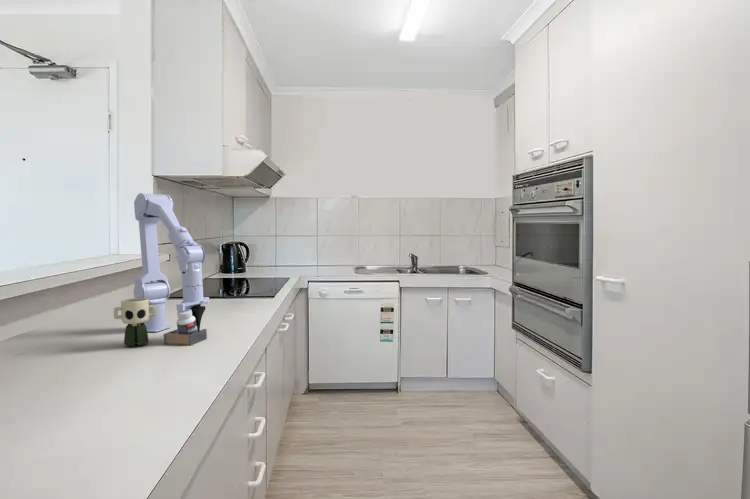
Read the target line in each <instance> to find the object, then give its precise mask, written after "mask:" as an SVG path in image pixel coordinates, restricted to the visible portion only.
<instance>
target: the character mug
mask: <svg viewBox="0 0 750 499" xmlns="http://www.w3.org/2000/svg"><path fill="white" fill-rule="evenodd" d="M149 308H153V313H149ZM118 311H121V312H120V313H121V314H118ZM156 314H157V313H156V305H149V299H146V298H135V297H134V298H126V299H123V300H120V306H116V307H114V308H113V318H114V319H115V320H121V321H122V323H123V324H126V326H125V329H124V339H123V345H124V346H127V347H135V344H137V346H143V345H146V344H148V343H149V334H148V332H147V328H146V325H145V324H144V322H147V321H148V320H149V317H151V316H156Z"/></svg>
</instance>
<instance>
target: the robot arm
mask: <svg viewBox="0 0 750 499" xmlns="http://www.w3.org/2000/svg"><path fill="white" fill-rule="evenodd" d="M133 205H134V206H133V207H134V209H133V210H134V217H135V220H136V221H138V230H139V242H140V254H141V266H142V273H141V274H140V275H139V276H137V277H136V279H135V280H134V288H133V297H134V298H146V299H149V305H156V313H157V314H156V316H151V317H149V320H148V321H147V322H144V324H145V325H146V328H147V333H158V332H161V331H163V330H167V329H169V328H172V325H166V302H167V301H168V299H169V298H170V295H171V286H170V284H169V279H168V276H166V275H165V274H164V273H162V272H161V268H160V266H161V264H160V256H159V255H160V254H159V242H158V229H157V224H158V222H159V221H161V222H162V223H163V225H164V226H165V227H166V229H167V230H168V232H169V233H168V236H167V238H168V239H169V241H170V243H171V244H172V246H173V247H174V249H175V251H176V261H177V263H178V268H179V271H180V272H181V283H182V286H181V287H182V301H181V302H179V303H177V304H176V312H178V311H185V310H186V309H191V310H192V316H194V317H195V319H196V324H197V329H198V331H200V330H201V323H202V318H203V316H204V313H205V311H206V306H205V305H206V304H210V297H209V296H204V283H203V267H202V264H203V263H204V262H205V260H206V251H205V248H204V246H203V245H201V244H198V242H195V241H194V239H193V238H192V236H191V234H190V233H189V230H188V229H187V228H186V227H184V226H181V225H180V223H179V221H178V219H177V217H176V214H175V212H174V210H173V209H174V201H173V199H172V197H171V196H170V195H169V194H167V193H165V194H157V193H156V194H155V193H154V194H153V193H143V192H140V193H138V194H137V195H136V197H135V199H134V201H133ZM149 313H153V308H149Z"/></svg>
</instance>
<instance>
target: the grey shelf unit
mask: <svg viewBox="0 0 750 499" xmlns="http://www.w3.org/2000/svg"><path fill="white" fill-rule="evenodd" d="M207 337H208V335H207V328H202V329H200V330H199V331H197V332H194V333H192V334H179V333H178V328H175V329H173V330H170V331H168V332H165V333H163V345H170V344H180V345H179V346H193V345H195V344H198V343H200V342H203V341H205V340H207Z"/></svg>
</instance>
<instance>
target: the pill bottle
mask: <svg viewBox="0 0 750 499" xmlns="http://www.w3.org/2000/svg"><path fill="white" fill-rule="evenodd" d="M176 312H177V313H176V315H177V319H176V327H177V328H176V329H178V333H179V334H192V333H194V332H197V331H198V329H197V324H196V319H195V317H194V316H192V310H191V309H186V310H185V311H176Z"/></svg>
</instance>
